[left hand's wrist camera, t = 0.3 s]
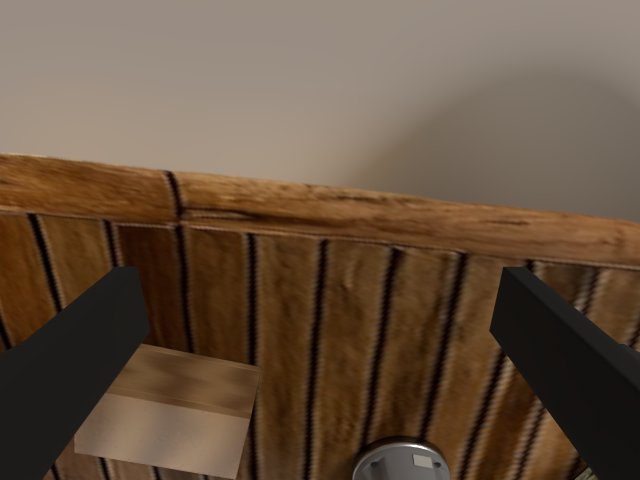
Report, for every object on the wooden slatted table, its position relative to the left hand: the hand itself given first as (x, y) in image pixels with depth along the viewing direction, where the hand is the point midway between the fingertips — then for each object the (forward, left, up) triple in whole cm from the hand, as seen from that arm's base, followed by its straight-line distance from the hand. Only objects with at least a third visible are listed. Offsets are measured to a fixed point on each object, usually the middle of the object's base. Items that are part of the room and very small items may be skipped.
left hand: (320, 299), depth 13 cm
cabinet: (-31, +19, -28) cm, 46 cm away
